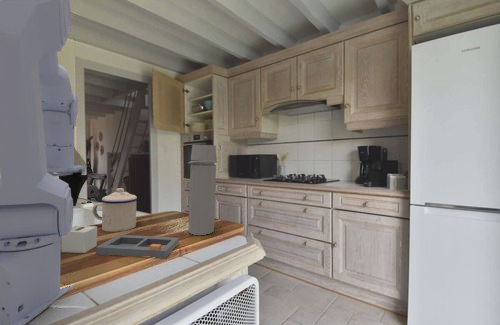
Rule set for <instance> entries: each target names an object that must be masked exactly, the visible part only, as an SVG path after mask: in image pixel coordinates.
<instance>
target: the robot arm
mask: <svg viewBox="0 0 500 325" xmlns="http://www.w3.org/2000/svg"><path fill="white" fill-rule="evenodd" d="M70 4H71V1H70V0H0V325H27V324H29V322H30V321H31V320H33V319H35V317H37V316H38V315H40V314H41V313H42V312H43V311H45V310H46V309H47V308H49V307H50V306H52V303H53V302H55V301H57V300H58V299H59V298H60V297H61V296H63V295H64V294H66V293H67V292H68V291H70V290H71V289H73V288H74V287H75V284H74V285H72V286H69V287H68V286H67V287H68V288H67V287H65V288H62V289H60V283H61V255H62V254H61V253H62V252H61V240H62V236H65V235H67V233H69V232H70V231H71V228H72V227H73V224H74V207H76V206H77V203H78V200H79V198H80V197H79V196H80V194H81V192H82V189H83V187H84V185H85V183H86V182H87V181H88V178H89V175H88V174H86V165H80V164H77V165H75V127H76V126H77V116H78V112H79V100H78V95H77V94H76V93H75V94H74V93H73V90H72V86H71V82H70V77H69V76H70V75H69V73H68V71H67V69H66V68H65V67H64V66H63V65H61V64H60V63H59V59H58V58H59V57H58V52H62V48H63V47H64V46H65V45H66V43H67V41H68V37H69V36H70V35H71V29H72V28H71V27H72V12H71V5H70Z"/></svg>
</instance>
